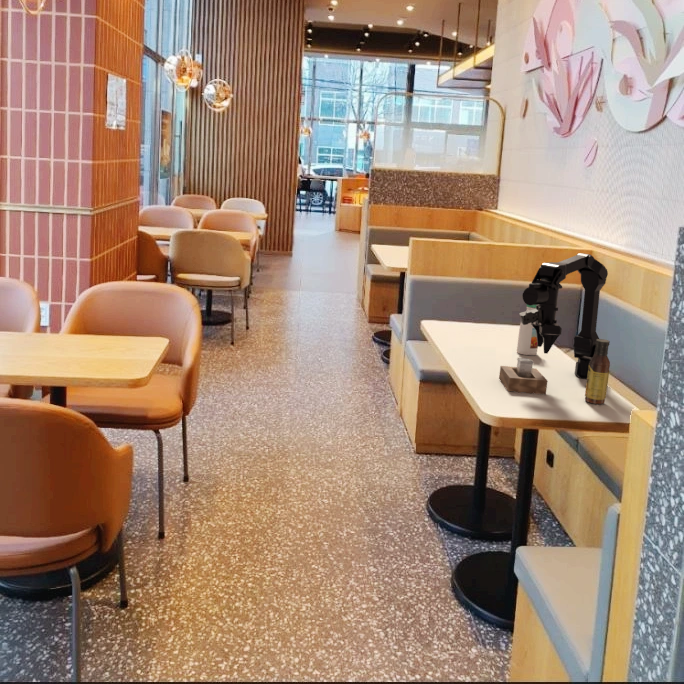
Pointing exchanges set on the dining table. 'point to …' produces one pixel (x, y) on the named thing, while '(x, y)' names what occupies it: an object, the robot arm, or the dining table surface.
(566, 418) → the dining table surface
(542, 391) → the well board
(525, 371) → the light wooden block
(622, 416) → the dining table surface
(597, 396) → the sauce bottle
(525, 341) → the milk bottle
